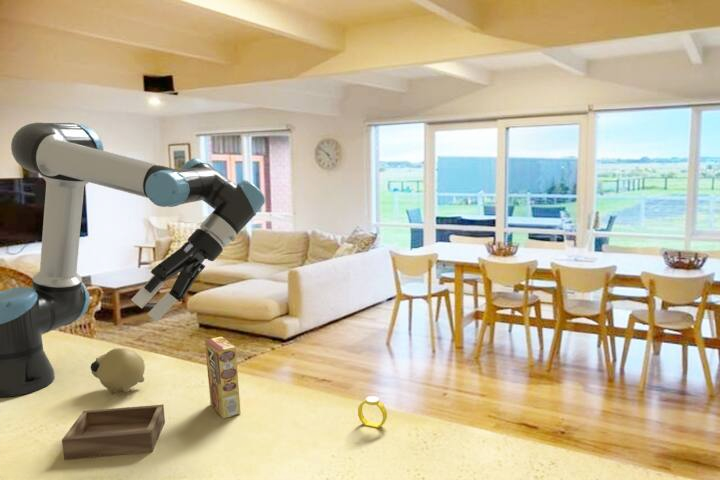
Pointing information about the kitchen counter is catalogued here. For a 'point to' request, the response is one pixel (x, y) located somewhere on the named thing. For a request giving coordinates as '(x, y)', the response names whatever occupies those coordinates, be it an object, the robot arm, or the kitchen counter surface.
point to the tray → (114, 432)
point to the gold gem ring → (372, 401)
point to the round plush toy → (119, 369)
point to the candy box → (223, 376)
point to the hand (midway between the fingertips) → (144, 311)
